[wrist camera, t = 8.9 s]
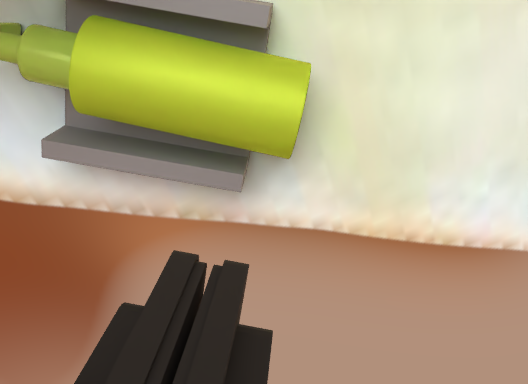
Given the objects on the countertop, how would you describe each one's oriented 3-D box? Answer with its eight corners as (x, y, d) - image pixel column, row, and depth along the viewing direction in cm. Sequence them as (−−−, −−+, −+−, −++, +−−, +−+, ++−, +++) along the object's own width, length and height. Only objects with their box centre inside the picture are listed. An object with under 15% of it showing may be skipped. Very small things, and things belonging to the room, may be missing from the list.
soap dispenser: (309, 56, 33) (11, -11, 33) (312, 70, 27) (-58, -13, 26) (289, 140, 35) (9, 78, 35) (288, 172, 29) (-55, 96, 28)
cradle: (273, 3, 32) (269, 6, 28) (247, 168, 36) (240, 192, 32) (72, -33, 32) (39, -35, 28) (71, 137, 36) (41, 157, 32)
